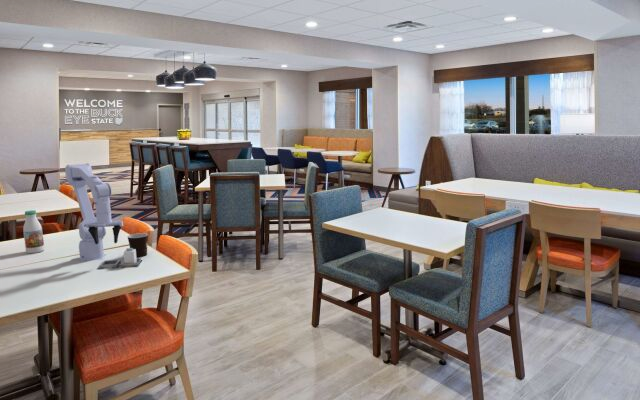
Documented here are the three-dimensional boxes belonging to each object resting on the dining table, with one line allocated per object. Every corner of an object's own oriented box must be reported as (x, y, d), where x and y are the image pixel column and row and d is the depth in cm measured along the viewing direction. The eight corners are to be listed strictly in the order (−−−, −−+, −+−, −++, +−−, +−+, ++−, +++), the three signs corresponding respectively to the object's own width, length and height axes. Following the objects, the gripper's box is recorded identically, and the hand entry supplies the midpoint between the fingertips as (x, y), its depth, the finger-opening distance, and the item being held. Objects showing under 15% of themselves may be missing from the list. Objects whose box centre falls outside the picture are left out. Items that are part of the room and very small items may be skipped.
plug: (124, 265, 197) (123, 250, 196) (127, 263, 201) (125, 247, 200) (134, 265, 198) (133, 249, 196) (136, 262, 201) (135, 246, 200)
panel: (97, 270, 193) (97, 266, 193) (104, 263, 203) (104, 259, 202) (137, 268, 195) (137, 264, 195) (142, 261, 205) (142, 257, 205)
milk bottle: (22, 252, 222) (16, 212, 218) (37, 248, 229) (32, 209, 225) (33, 254, 219) (28, 213, 215) (48, 250, 226) (43, 210, 222)
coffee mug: (142, 259, 207) (140, 238, 205) (125, 259, 209) (123, 237, 207) (156, 252, 218) (155, 231, 216) (140, 251, 220) (138, 231, 218)
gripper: (81, 214, 191) (85, 246, 193) (118, 213, 193) (121, 244, 196) (87, 211, 198) (90, 242, 200) (123, 209, 200) (126, 240, 202)
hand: (106, 243), depth 198 cm, fingers open, 7 cm apart
